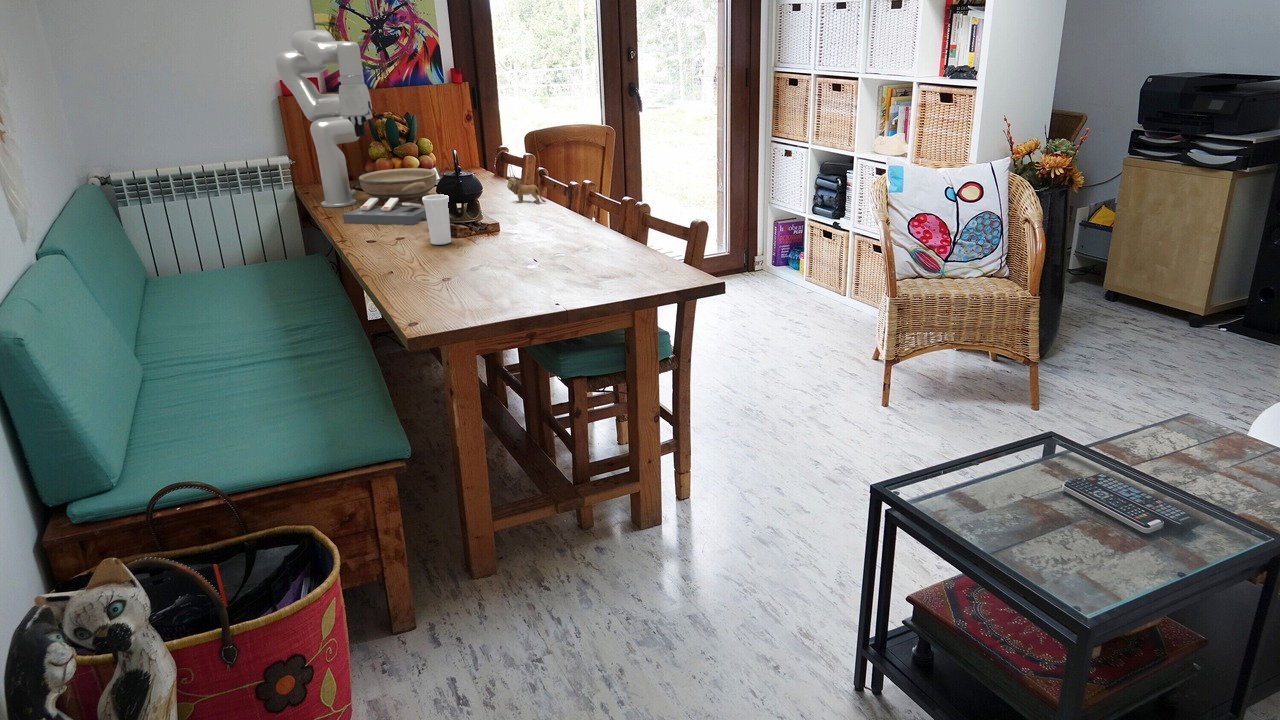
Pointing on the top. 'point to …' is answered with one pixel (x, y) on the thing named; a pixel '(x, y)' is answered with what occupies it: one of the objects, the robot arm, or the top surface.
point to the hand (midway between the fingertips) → (360, 136)
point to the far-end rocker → (369, 204)
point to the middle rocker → (389, 204)
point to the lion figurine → (523, 190)
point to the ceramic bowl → (398, 184)
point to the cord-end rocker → (411, 204)
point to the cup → (438, 218)
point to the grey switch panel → (386, 215)
